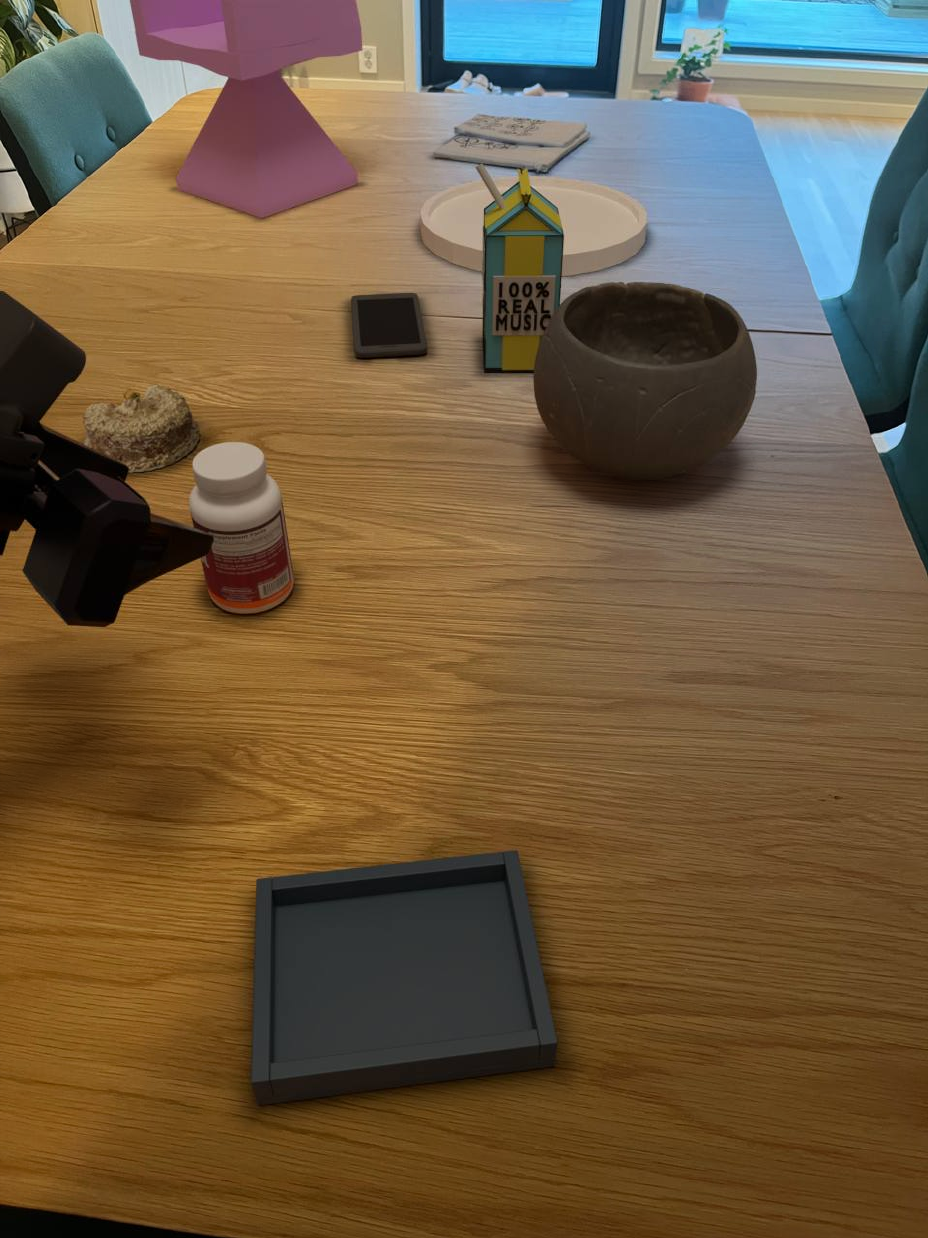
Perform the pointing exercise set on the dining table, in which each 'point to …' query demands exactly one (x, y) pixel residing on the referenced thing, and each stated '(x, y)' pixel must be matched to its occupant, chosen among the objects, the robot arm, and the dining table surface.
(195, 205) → the dining table surface
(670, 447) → the bowl
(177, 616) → the dining table surface
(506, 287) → the carton
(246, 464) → the pill bottle
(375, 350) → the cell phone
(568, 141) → the folded cloth napkin
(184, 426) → the cake
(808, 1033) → the dining table surface
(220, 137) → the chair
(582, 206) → the plate
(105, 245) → the dining table surface
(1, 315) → the robot arm
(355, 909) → the dish
